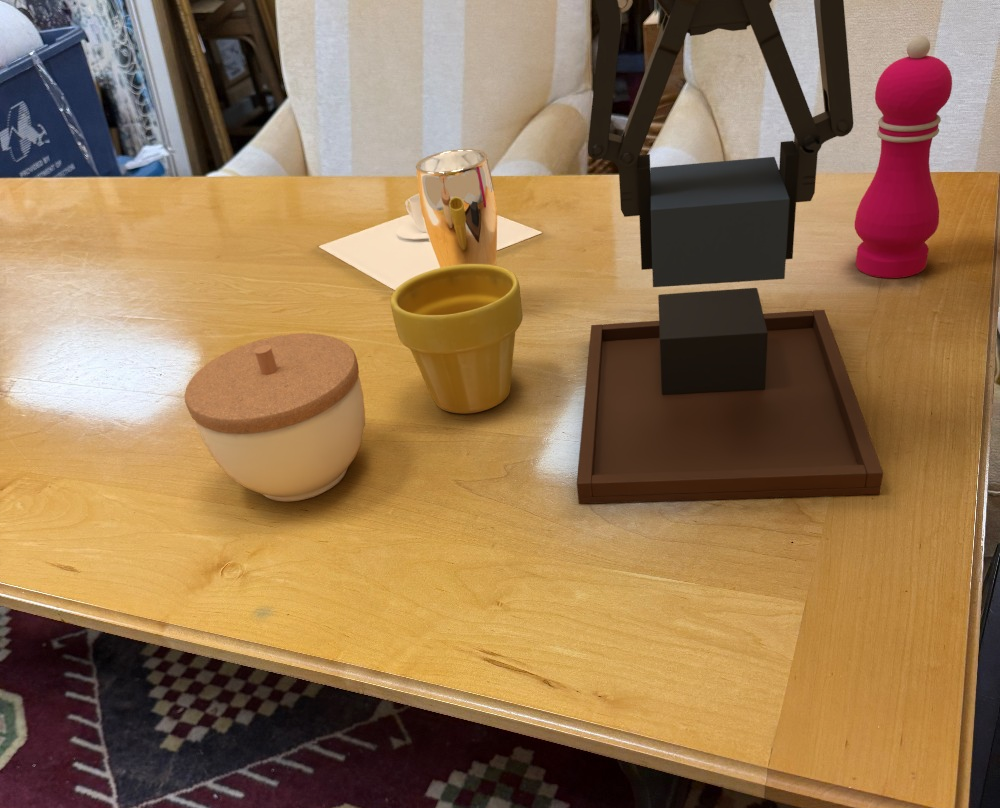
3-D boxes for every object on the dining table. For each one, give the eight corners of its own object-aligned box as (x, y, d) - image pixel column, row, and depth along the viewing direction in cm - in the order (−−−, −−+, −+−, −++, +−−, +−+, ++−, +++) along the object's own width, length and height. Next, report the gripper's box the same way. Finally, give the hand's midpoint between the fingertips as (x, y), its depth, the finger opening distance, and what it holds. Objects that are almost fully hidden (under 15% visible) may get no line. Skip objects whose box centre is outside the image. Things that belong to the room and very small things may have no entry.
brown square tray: (822, 328, 79) (824, 309, 78) (880, 494, 60) (883, 472, 59) (592, 342, 83) (591, 324, 82) (578, 504, 64) (576, 483, 63)
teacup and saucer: (476, 228, 110) (471, 195, 107) (420, 249, 107) (413, 215, 104) (439, 213, 116) (433, 181, 113) (385, 232, 113) (378, 200, 110)
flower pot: (461, 355, 84) (443, 254, 78) (555, 377, 78) (543, 270, 73) (388, 410, 78) (362, 305, 72) (484, 438, 72) (465, 326, 66)
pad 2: (755, 341, 78) (757, 287, 75) (765, 389, 71) (767, 332, 68) (659, 347, 79) (658, 294, 76) (661, 395, 73) (659, 338, 70)
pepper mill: (836, 272, 87) (857, 45, 75) (870, 245, 91) (896, 25, 79) (911, 286, 83) (946, 48, 71) (944, 257, 87) (982, 26, 75)
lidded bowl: (238, 545, 65) (186, 415, 59) (211, 462, 75) (164, 341, 68) (402, 487, 68) (371, 357, 62) (356, 414, 78) (325, 294, 71)
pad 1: (770, 230, 62) (774, 156, 59) (784, 279, 56) (789, 198, 53) (652, 239, 64) (650, 167, 61) (652, 287, 57) (650, 209, 54)
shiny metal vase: (431, 310, 93) (403, 161, 84) (494, 291, 94) (472, 143, 86) (456, 335, 87) (428, 179, 79) (521, 314, 89) (501, 159, 80)
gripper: (507, -138, 45) (551, 291, 58) (961, -208, 41) (896, 267, 55) (523, -146, 51) (560, 246, 64) (921, -208, 47) (871, 222, 61)
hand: (714, 255), depth 59 cm, fingers closed on pad 1, 8 cm apart
